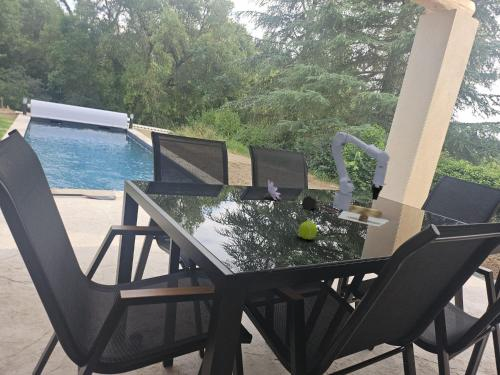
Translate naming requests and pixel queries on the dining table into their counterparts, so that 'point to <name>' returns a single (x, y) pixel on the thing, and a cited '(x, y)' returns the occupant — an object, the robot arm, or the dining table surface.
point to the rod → (365, 211)
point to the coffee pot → (313, 204)
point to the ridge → (363, 218)
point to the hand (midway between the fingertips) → (374, 198)
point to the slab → (355, 218)
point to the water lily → (272, 191)
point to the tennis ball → (307, 230)
